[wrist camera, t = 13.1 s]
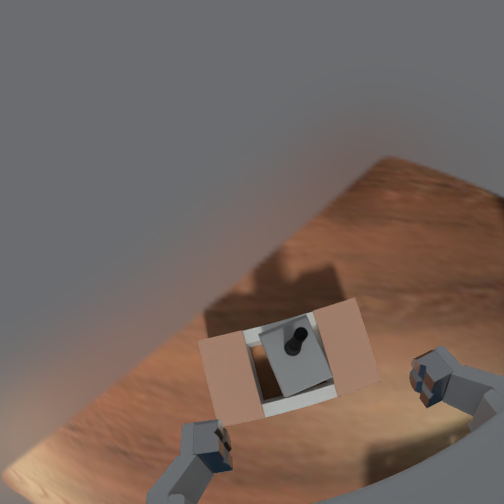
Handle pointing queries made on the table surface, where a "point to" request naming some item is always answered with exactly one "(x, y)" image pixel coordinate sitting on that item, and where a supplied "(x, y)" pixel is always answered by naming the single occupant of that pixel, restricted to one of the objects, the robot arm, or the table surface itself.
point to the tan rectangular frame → (255, 407)
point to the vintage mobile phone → (295, 355)
